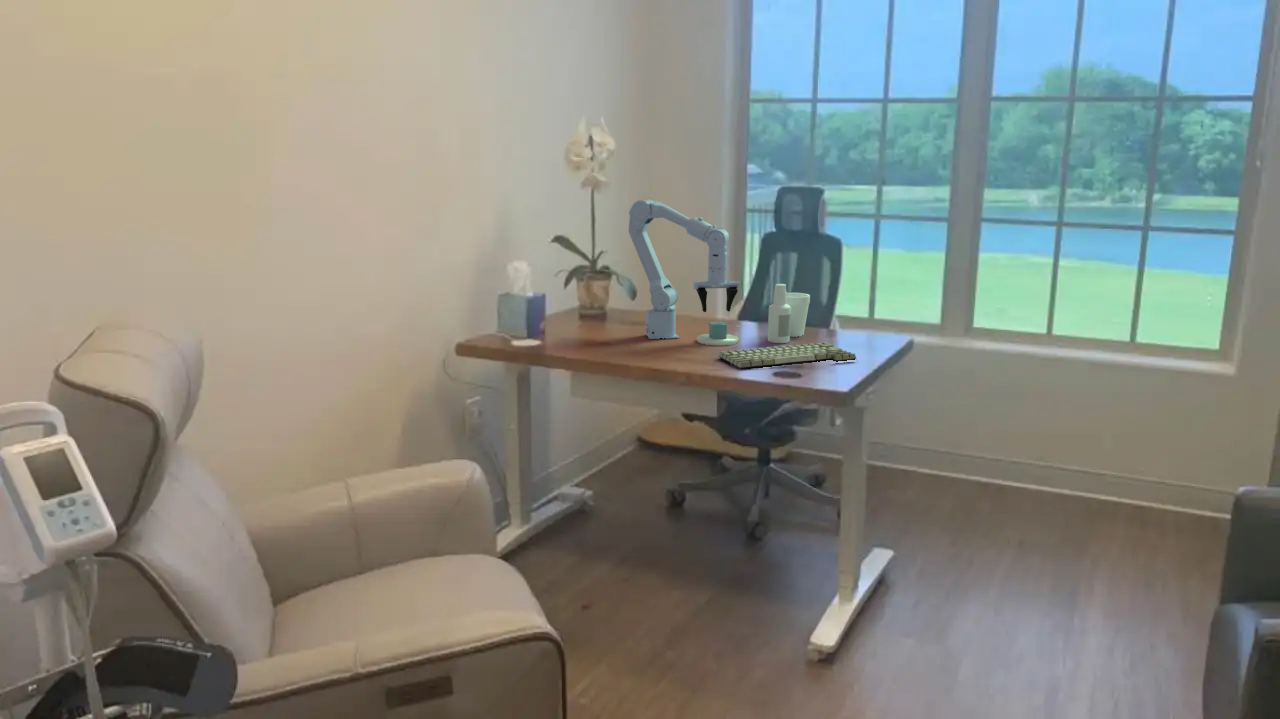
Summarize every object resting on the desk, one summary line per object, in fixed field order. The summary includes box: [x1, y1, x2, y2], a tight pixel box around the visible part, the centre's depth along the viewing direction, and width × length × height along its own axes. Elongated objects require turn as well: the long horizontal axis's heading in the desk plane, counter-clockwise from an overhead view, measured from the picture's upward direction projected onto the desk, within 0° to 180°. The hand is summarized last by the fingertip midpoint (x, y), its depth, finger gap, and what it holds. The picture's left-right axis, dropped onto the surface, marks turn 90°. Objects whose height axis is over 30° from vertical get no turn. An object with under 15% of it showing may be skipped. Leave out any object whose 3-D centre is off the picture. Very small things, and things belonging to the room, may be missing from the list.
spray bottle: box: [767, 283, 791, 344], centre depth 317 cm, size 7×7×18 cm
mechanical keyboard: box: [718, 341, 857, 370], centre depth 294 cm, size 38×19×3 cm, turn 111°
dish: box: [696, 333, 739, 347], centre depth 318 cm, size 13×13×1 cm
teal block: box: [708, 321, 728, 339], centre depth 317 cm, size 4×4×4 cm
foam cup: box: [786, 292, 811, 338], centre depth 327 cm, size 10×9×13 cm
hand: (716, 311), depth 318 cm, fingers open, 7 cm apart
